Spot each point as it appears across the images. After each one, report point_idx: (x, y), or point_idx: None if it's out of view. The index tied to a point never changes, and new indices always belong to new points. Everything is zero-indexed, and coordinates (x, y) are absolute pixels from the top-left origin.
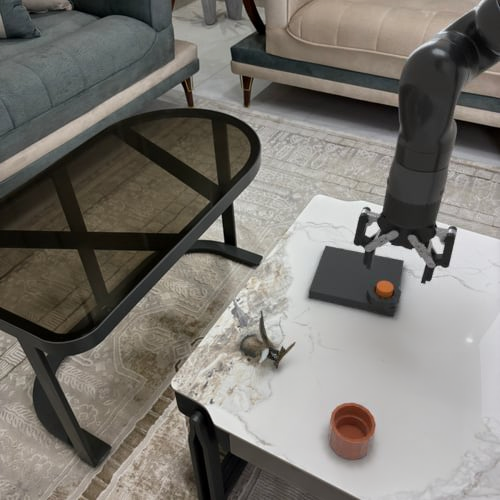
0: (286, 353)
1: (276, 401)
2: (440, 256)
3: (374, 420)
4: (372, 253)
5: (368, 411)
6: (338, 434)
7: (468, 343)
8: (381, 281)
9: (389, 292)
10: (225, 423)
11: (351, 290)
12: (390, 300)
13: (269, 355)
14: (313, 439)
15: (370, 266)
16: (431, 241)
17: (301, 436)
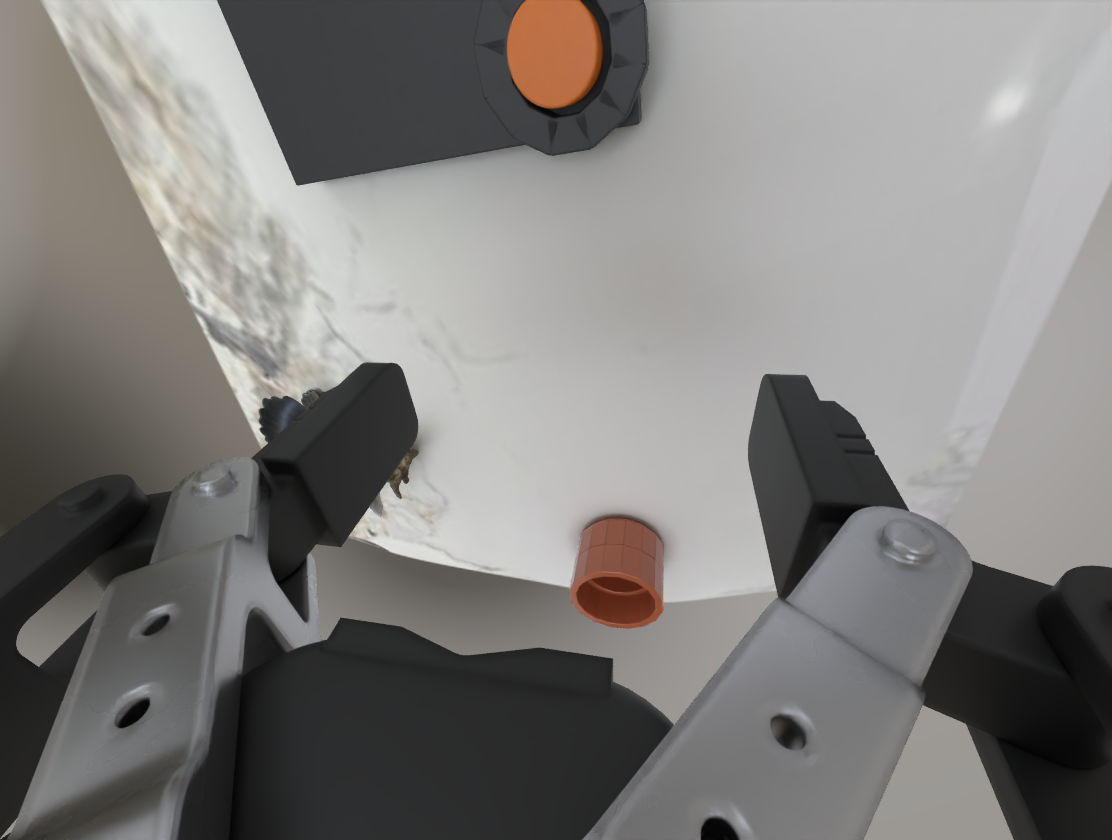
0: (409, 465)
1: (463, 510)
2: (1000, 700)
3: (657, 594)
4: (338, 545)
5: (640, 581)
6: (596, 620)
7: (996, 130)
8: (520, 15)
9: (585, 89)
10: (418, 556)
11: (424, 91)
12: (605, 120)
13: None
14: (559, 552)
15: (403, 454)
16: (913, 725)
17: (538, 551)
